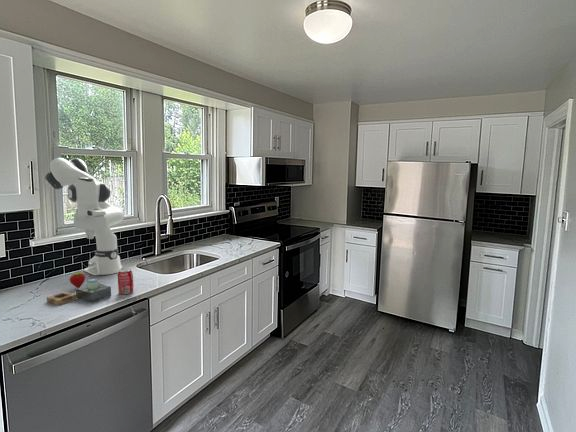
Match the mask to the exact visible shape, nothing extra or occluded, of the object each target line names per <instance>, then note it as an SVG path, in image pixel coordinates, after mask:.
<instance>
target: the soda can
mask: <svg viewBox="0 0 576 432" xmlns="http://www.w3.org/2000/svg"><path fill="white" fill-rule="evenodd" d="M117 287H118V288H117V289H118V293H119V294H121V295H129V294H131V293H132V292H134V274H133V271H132V269H131V268H122V269H121V270H119V272H117Z"/></svg>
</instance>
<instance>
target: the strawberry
mask: <svg viewBox="0 0 576 432" xmlns="http://www.w3.org/2000/svg"><path fill="white" fill-rule="evenodd" d="M85 280H86V276H85V274H84V271H83V272H81V271H79V272H74V273H73V274H71V276H70V277H69V282H70V283H71V285H73V286H74V287H75V288H79V287H82V286H83V284H84V282H85Z"/></svg>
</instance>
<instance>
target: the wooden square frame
mask: <svg viewBox="0 0 576 432" xmlns="http://www.w3.org/2000/svg"><path fill="white" fill-rule="evenodd" d="M73 301H77V298H76V293H73V292H69V291H66V290H65V291H62V292H59V293H56V294H53V295H49V296H46V303H49V304H51V305H55V306H61V305H65V304H67V303H70V302H73Z"/></svg>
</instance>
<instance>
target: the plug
mask: <svg viewBox="0 0 576 432" xmlns="http://www.w3.org/2000/svg"><path fill="white" fill-rule="evenodd" d="M86 282H87V283H86V285H88V289H90V290H93V289H96V288H98V283H99V280H98V279H97V278H91V279H87V281H86Z"/></svg>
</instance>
